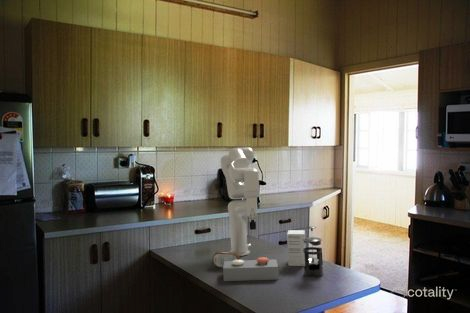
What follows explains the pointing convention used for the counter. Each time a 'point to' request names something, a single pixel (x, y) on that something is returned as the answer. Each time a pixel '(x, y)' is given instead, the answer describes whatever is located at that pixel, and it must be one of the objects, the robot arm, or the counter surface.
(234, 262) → the white button
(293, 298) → the counter surface
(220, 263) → the tin
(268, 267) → the console
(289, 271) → the counter surface
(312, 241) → the french press
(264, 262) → the red button
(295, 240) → the supplement box
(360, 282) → the counter surface
